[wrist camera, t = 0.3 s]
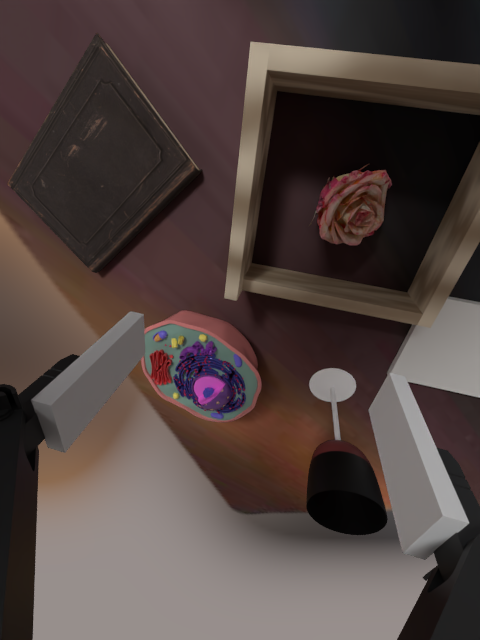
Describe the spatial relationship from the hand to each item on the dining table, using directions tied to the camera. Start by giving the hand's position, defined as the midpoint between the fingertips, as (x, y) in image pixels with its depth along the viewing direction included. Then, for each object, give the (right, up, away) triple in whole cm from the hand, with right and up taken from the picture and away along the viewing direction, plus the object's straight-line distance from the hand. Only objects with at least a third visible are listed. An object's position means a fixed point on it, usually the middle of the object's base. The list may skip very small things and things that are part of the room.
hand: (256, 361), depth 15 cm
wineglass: (+15, -9, +33) cm, 37 cm away
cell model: (-5, -2, +33) cm, 34 cm away
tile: (+30, -2, +25) cm, 38 cm away
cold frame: (+12, +16, +18) cm, 27 cm away
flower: (+12, +16, +19) cm, 27 cm away
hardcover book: (-19, +22, +23) cm, 37 cm away
